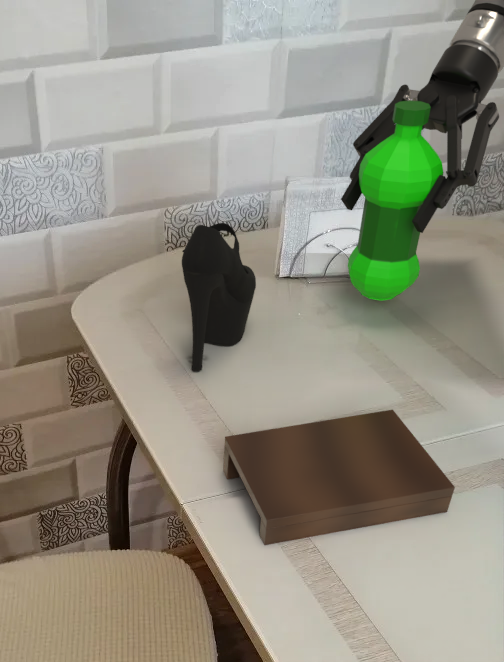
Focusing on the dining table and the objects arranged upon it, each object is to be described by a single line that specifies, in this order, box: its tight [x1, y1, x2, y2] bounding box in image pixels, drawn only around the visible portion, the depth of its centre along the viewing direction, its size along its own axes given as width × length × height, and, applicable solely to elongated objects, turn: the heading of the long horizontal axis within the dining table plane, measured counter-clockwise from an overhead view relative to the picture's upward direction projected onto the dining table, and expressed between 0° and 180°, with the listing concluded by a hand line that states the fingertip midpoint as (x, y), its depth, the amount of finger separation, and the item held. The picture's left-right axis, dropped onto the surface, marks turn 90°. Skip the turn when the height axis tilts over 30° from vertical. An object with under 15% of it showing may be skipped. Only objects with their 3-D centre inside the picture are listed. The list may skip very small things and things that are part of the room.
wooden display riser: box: [222, 409, 456, 546], centre depth 86 cm, size 20×14×5 cm
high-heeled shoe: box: [181, 222, 257, 373], centre depth 106 cm, size 8×19×20 cm, turn 155°
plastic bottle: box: [347, 101, 444, 302], centre depth 106 cm, size 10×10×25 cm
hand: (380, 215), depth 105 cm, fingers closed on plastic bottle, 10 cm apart
